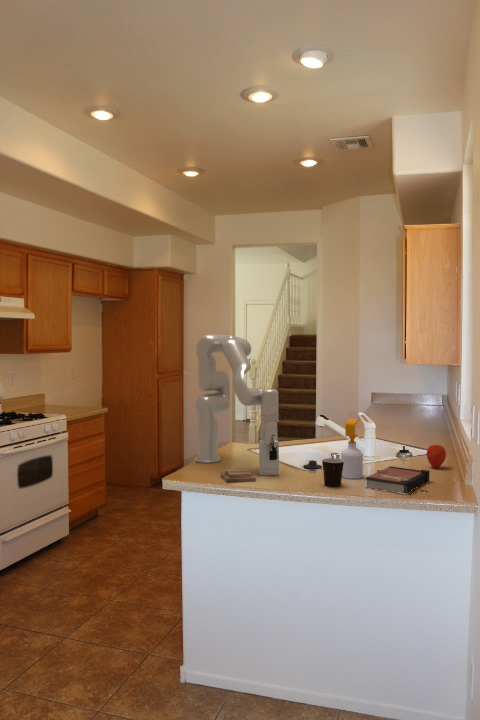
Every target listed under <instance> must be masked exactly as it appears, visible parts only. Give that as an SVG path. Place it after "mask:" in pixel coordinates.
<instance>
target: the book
mask: <svg viewBox="0 0 480 720" xmlns="http://www.w3.org/2000/svg"><path fill="white" fill-rule="evenodd" d="M365 481H366V486H365V489H368V488H371V489H370V490H374V489H378V490H377V491H380V490H387V491H394V492H401V493H406V494H407V493H409V492H410V491H411V490H412V489H414V488H416V487H418V486H419V487H421V486H423V485H424V484H426V483H425V482H428V481H429V482H430V470H427V469H420V470H419V469H418V470H417V469H410V468H407V467H406V468H405V467H397V466H391V465H390V466H388V467H385V468H384V469H378V470H376V472H375V473H373V474H371V475H369V476H366V477H365ZM429 482H428V483H429ZM423 483H424V484H423ZM422 484H423V485H422ZM420 485H421V486H420ZM419 487H418V488H419ZM416 489H417V488H416ZM414 490H415V489H414ZM411 492H412V491H411ZM411 492H410V493H411Z"/></svg>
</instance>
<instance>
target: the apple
mask: <svg viewBox="0 0 480 720" xmlns="http://www.w3.org/2000/svg"><path fill="white" fill-rule="evenodd" d="M446 457H447V452H446V449H445V447H444V446H442V445H440V444H435V445H434V444H431V445H429V447H427V450H426V458H427V461H428V463H429V464H430V466H431V467H432V469H439V468H440V467H441V466H442V465H443V463H444V462H445V460H446Z"/></svg>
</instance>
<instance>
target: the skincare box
mask: <svg viewBox="0 0 480 720" xmlns="http://www.w3.org/2000/svg"><path fill="white" fill-rule="evenodd" d="M279 445H280V441H279V440H278V442H277V460H270V459H269V451H270V447H269V444H268V446H267V445H265V441H263V440H261V438H260V439H258V454H259V455H258V457H259V459H258V461H259V462H258V463H259V464H258V465H259V474H260V476H279V475H280V448H279V447H280V446H279Z"/></svg>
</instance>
